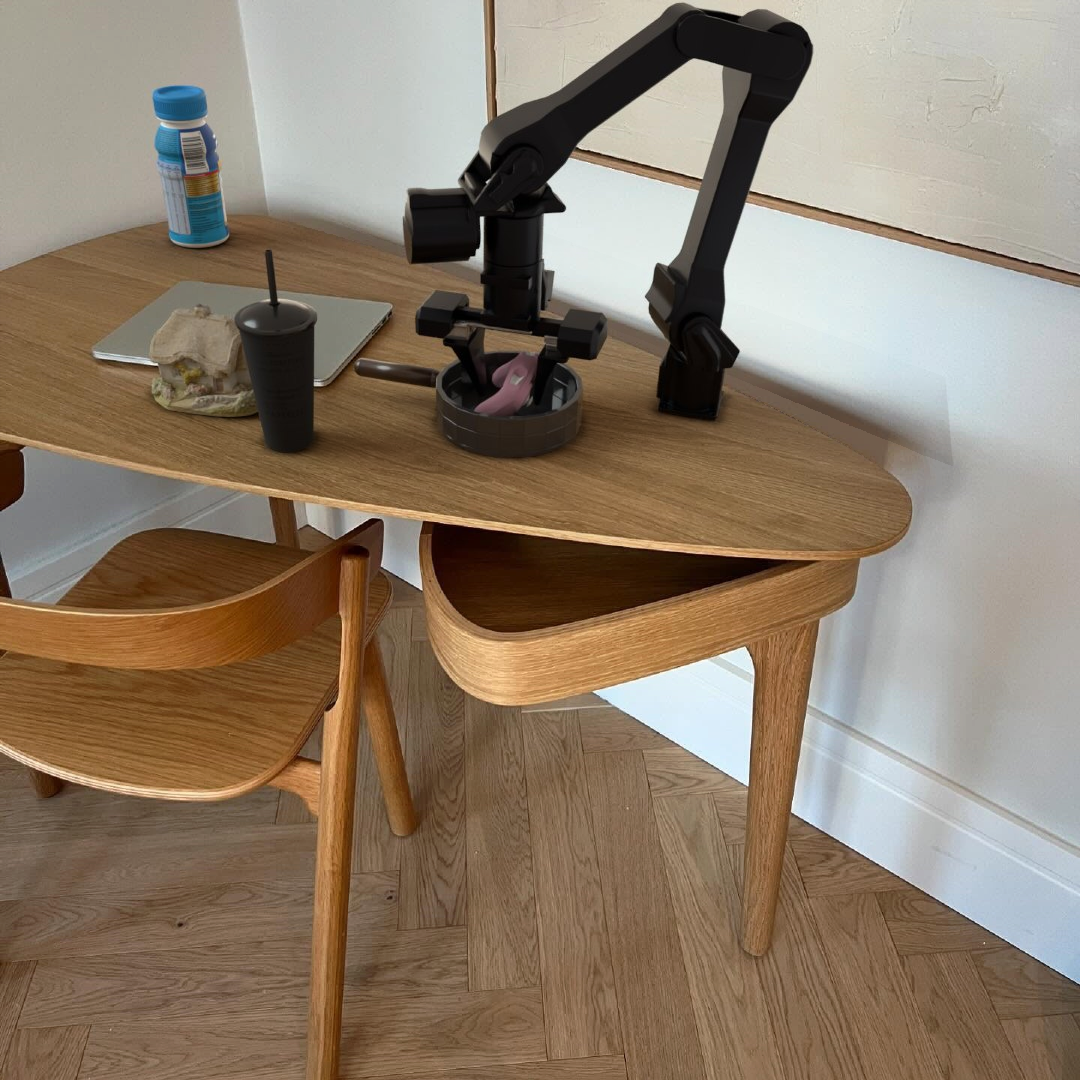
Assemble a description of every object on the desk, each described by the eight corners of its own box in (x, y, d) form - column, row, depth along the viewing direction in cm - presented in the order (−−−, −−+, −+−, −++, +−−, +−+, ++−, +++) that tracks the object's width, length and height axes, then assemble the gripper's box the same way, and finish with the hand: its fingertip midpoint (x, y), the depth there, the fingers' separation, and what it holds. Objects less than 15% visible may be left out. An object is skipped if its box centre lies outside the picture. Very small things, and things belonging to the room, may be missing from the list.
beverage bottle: (158, 246, 152) (133, 96, 140) (184, 225, 159) (162, 80, 147) (216, 252, 151) (195, 101, 139) (240, 231, 158) (221, 85, 146)
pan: (593, 399, 121) (596, 362, 118) (560, 468, 109) (563, 429, 106) (462, 378, 124) (462, 341, 121) (416, 443, 112) (415, 405, 109)
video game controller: (506, 444, 112) (538, 394, 108) (467, 421, 111) (498, 370, 107) (526, 399, 120) (557, 351, 116) (490, 378, 119) (520, 328, 115)
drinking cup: (292, 468, 107) (270, 273, 95) (235, 444, 110) (206, 253, 98) (343, 436, 112) (328, 247, 101) (287, 414, 115) (266, 229, 104)
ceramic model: (129, 401, 116) (111, 314, 111) (191, 358, 125) (177, 275, 119) (243, 428, 113) (231, 339, 107) (299, 381, 121) (290, 297, 116)
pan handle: (446, 384, 117) (445, 367, 116) (440, 392, 115) (439, 375, 114) (358, 370, 119) (357, 353, 117) (351, 378, 117) (350, 361, 116)
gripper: (623, 239, 110) (612, 378, 119) (447, 217, 114) (450, 354, 123) (600, 280, 101) (590, 427, 110) (410, 255, 105) (416, 399, 114)
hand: (510, 399), depth 115 cm, fingers closed on video game controller, 6 cm apart
